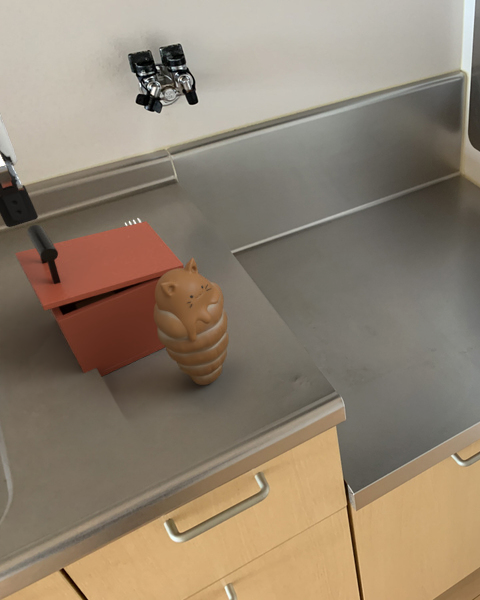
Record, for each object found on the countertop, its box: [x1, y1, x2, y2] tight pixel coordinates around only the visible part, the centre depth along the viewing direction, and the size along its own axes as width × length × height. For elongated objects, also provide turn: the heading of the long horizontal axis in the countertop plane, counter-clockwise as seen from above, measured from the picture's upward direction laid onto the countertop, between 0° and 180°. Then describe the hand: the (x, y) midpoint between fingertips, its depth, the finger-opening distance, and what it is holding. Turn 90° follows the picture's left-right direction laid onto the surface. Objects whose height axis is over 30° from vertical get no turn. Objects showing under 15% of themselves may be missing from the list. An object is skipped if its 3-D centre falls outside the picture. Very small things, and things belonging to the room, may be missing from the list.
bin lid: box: [14, 221, 185, 311], centre depth 76 cm, size 16×13×6 cm
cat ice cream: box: [154, 257, 230, 386], centre depth 73 cm, size 9×8×18 cm
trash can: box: [49, 276, 166, 377], centre depth 82 cm, size 16×13×11 cm
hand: (11, 202), depth 70 cm, fingers open, 9 cm apart
